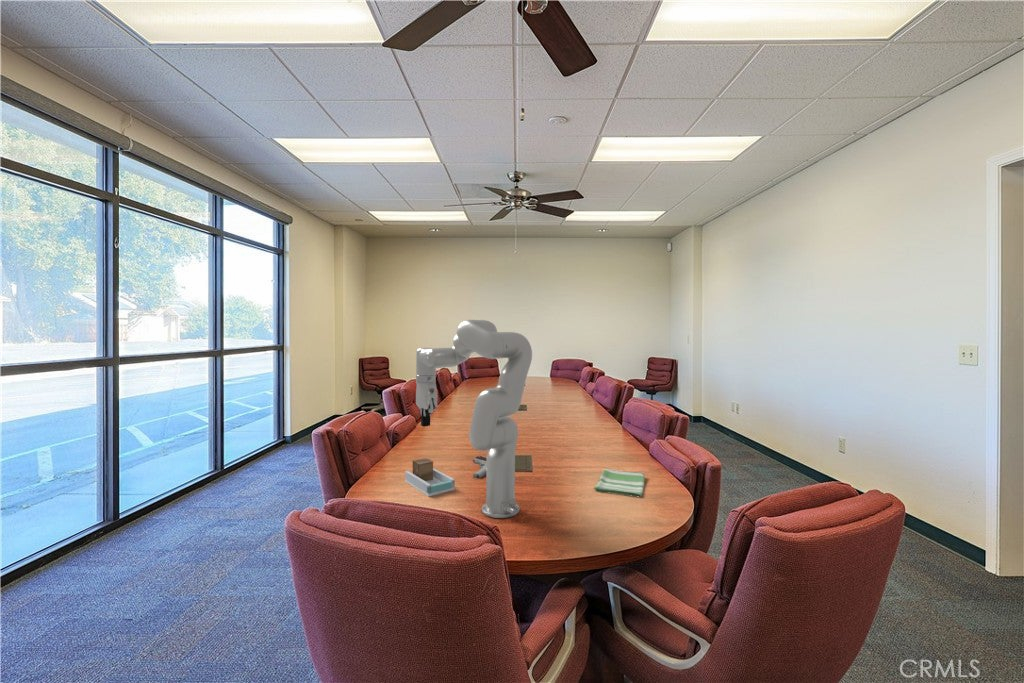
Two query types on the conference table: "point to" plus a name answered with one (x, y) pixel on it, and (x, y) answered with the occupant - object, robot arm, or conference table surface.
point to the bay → (431, 483)
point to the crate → (423, 469)
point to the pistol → (483, 463)
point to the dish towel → (621, 482)
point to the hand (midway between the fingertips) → (425, 425)
